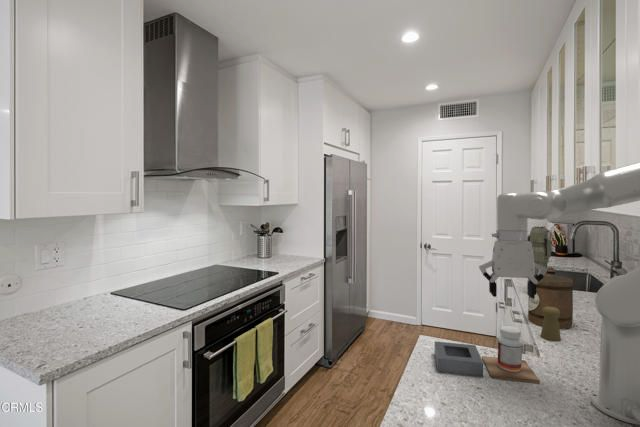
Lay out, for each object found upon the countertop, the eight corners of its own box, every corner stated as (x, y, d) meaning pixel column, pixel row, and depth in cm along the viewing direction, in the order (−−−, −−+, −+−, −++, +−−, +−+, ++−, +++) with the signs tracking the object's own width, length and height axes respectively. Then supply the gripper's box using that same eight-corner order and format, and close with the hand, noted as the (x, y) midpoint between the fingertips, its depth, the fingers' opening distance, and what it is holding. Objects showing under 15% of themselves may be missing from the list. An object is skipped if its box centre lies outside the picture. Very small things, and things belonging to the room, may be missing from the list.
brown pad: (539, 383, 92) (539, 380, 92) (491, 378, 95) (491, 375, 95) (524, 362, 104) (525, 360, 104) (481, 358, 107) (481, 356, 107)
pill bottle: (500, 360, 104) (501, 323, 103) (524, 367, 100) (525, 328, 99) (494, 367, 99) (495, 329, 99) (518, 375, 95) (519, 335, 95)
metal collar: (483, 377, 96) (483, 363, 96) (437, 371, 99) (437, 358, 99) (474, 357, 107) (475, 345, 107) (434, 353, 110) (434, 341, 110)
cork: (564, 342, 119) (565, 310, 119) (544, 340, 120) (545, 309, 120) (556, 335, 125) (556, 305, 124) (537, 334, 126) (538, 304, 126)
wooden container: (529, 313, 148) (530, 263, 147) (571, 320, 140) (573, 266, 139) (526, 324, 136) (528, 268, 135) (573, 332, 128) (575, 273, 127)
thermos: (545, 299, 170) (547, 228, 168) (520, 293, 180) (522, 226, 178) (554, 296, 174) (556, 227, 173) (530, 291, 184) (532, 225, 183)
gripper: (481, 237, 96) (482, 298, 97) (552, 238, 92) (552, 301, 93) (476, 235, 104) (476, 291, 104) (541, 235, 99) (541, 294, 100)
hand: (512, 296), depth 98 cm, fingers open, 9 cm apart
